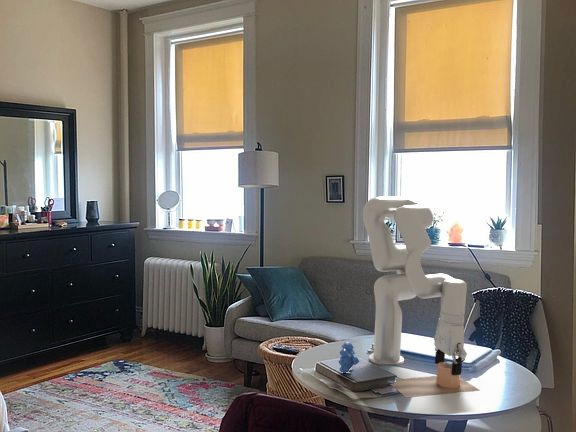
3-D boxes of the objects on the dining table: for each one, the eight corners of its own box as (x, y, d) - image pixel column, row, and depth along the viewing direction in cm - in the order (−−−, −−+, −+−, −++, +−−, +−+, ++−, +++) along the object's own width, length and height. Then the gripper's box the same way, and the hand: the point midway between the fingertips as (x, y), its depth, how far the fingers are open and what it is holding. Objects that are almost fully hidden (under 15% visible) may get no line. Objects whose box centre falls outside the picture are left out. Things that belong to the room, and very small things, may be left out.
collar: (432, 380, 192) (433, 362, 191) (451, 378, 194) (452, 361, 193) (444, 388, 185) (445, 370, 184) (463, 386, 187) (464, 368, 187)
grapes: (354, 384, 190) (355, 348, 189) (334, 381, 192) (335, 345, 191) (362, 372, 201) (364, 338, 200) (343, 369, 203) (345, 336, 202)
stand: (385, 384, 191) (386, 360, 190) (454, 378, 198) (456, 354, 198) (406, 402, 177) (407, 375, 177) (479, 394, 185) (481, 369, 184)
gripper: (427, 310, 195) (423, 360, 197) (457, 326, 178) (452, 380, 180) (447, 309, 197) (443, 358, 199) (478, 325, 180) (473, 378, 182)
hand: (447, 368), depth 190 cm, fingers open, 9 cm apart
